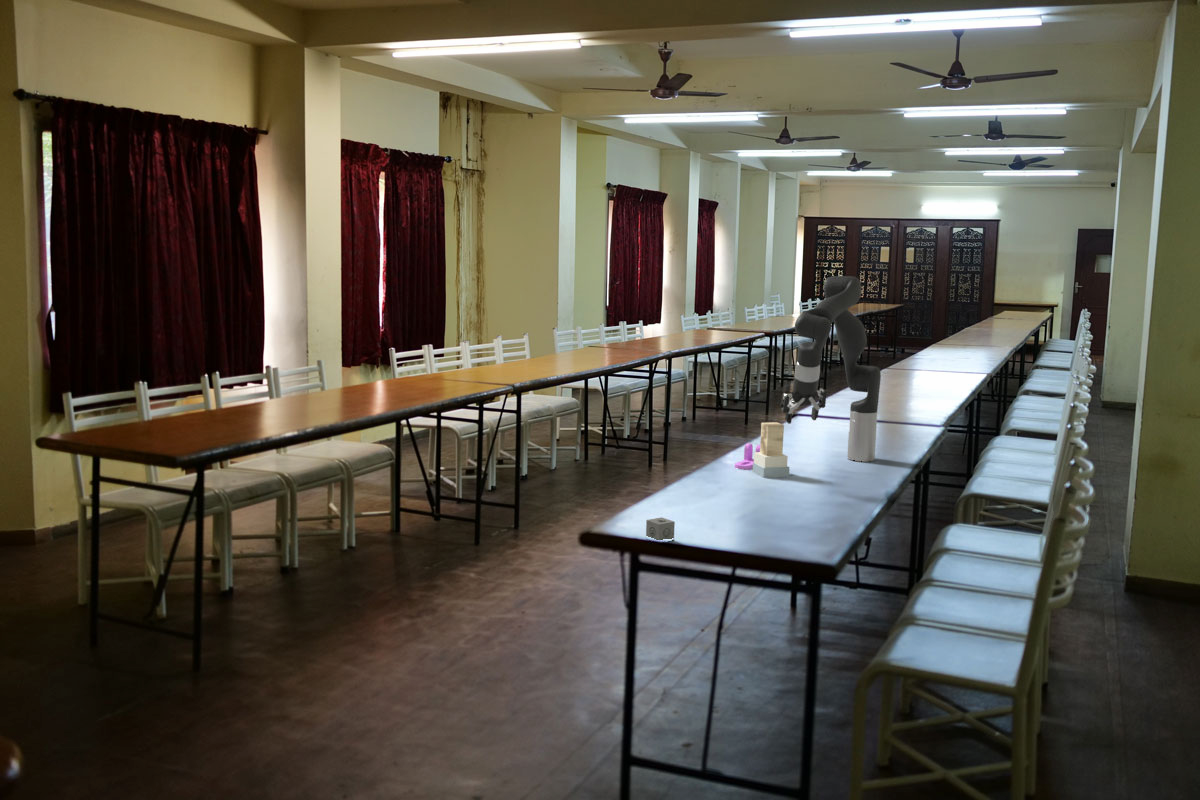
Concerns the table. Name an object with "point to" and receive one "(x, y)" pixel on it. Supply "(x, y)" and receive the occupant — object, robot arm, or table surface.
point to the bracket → (747, 457)
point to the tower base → (770, 471)
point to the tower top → (770, 460)
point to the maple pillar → (772, 439)
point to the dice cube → (660, 528)
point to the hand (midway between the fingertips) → (800, 420)
